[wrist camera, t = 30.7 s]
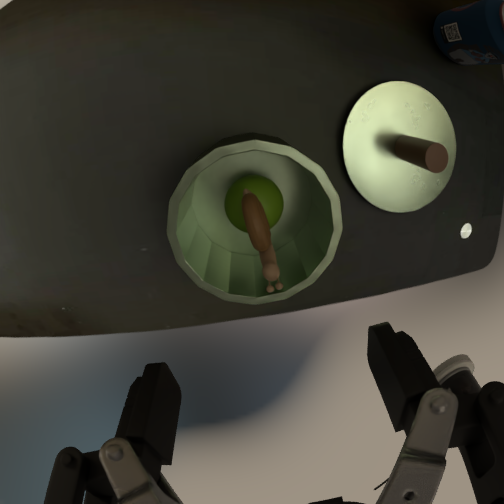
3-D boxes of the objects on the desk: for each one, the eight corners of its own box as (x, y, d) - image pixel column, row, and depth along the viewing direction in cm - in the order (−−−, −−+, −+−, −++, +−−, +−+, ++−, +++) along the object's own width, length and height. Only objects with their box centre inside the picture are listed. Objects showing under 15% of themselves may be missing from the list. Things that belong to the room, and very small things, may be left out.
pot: (324, 245, 33) (347, 286, 26) (205, 269, 34) (196, 315, 27) (305, 122, 27) (329, 126, 20) (171, 151, 28) (145, 166, 21)
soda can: (462, 16, 20) (528, 3, 10) (476, 67, 23) (546, 68, 13) (421, 11, 21) (487, -13, 10) (436, 65, 24) (510, 60, 13)
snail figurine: (240, 236, 32) (239, 303, 21) (217, 180, 29) (203, 223, 19) (289, 220, 31) (313, 280, 21) (270, 162, 29) (287, 194, 18)
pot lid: (451, 200, 31) (486, 221, 25) (347, 219, 32) (371, 247, 26) (444, 82, 25) (483, 82, 18) (328, 84, 26) (352, 78, 19)
